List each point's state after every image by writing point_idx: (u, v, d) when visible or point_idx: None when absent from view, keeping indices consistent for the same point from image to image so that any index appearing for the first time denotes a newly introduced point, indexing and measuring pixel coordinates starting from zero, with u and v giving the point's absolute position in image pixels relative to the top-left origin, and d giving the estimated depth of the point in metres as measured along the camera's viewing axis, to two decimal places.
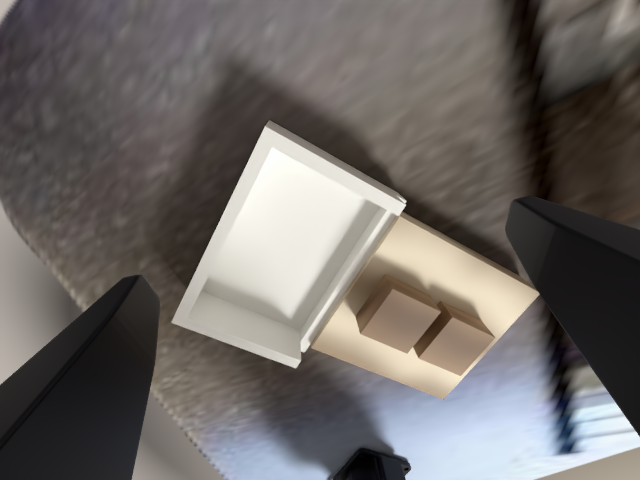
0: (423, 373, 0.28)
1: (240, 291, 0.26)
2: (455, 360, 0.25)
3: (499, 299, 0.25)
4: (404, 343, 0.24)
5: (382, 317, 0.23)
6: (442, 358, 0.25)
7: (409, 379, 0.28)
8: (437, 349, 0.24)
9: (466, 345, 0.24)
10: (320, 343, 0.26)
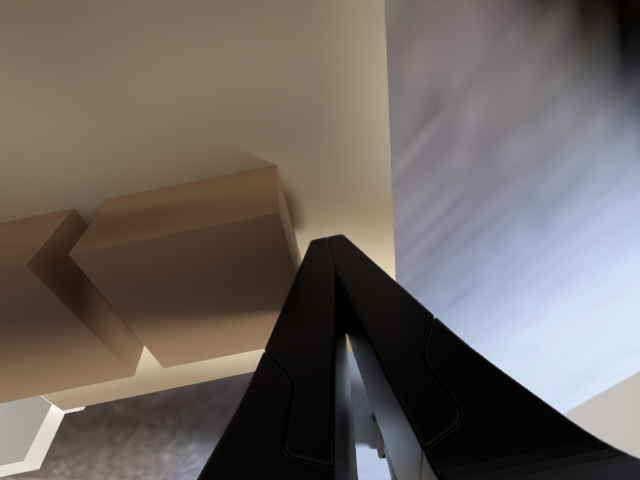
0: None
1: None
2: (251, 324, 0.08)
3: (257, 66, 0.07)
4: (92, 367, 0.08)
5: None
6: (213, 339, 0.08)
7: None
8: (171, 333, 0.08)
9: (225, 283, 0.07)
10: (62, 399, 0.13)
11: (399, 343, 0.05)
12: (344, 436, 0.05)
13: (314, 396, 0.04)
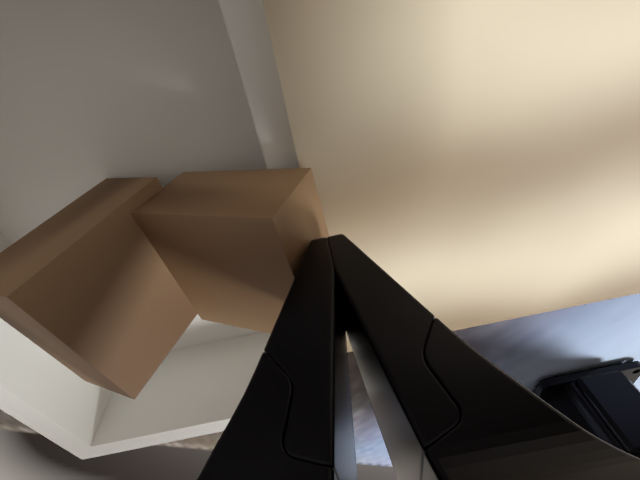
0: (605, 271, 0.12)
1: None
2: (261, 309, 0.09)
3: None
4: None
5: None
6: (233, 309, 0.09)
7: (576, 295, 0.12)
8: (203, 294, 0.09)
9: (236, 268, 0.08)
10: None
11: (399, 343, 0.05)
12: (344, 436, 0.05)
13: (314, 396, 0.04)
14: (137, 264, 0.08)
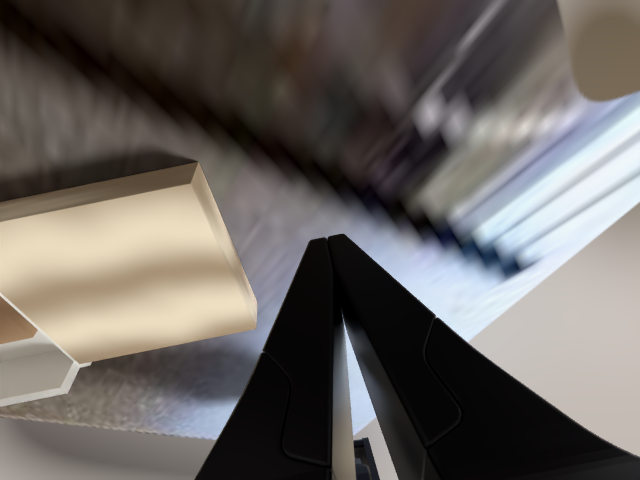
0: (200, 323, 0.23)
1: None
2: (0, 332, 0.22)
3: (158, 223, 0.18)
4: None
5: None
6: None
7: (197, 334, 0.24)
8: None
9: None
10: (79, 357, 0.24)
11: (401, 343, 0.05)
12: (342, 437, 0.05)
13: (311, 397, 0.04)
14: None
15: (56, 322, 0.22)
